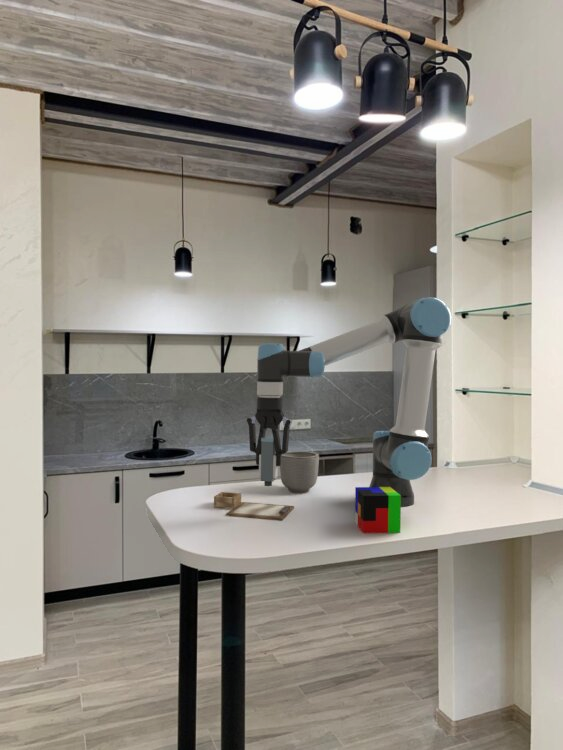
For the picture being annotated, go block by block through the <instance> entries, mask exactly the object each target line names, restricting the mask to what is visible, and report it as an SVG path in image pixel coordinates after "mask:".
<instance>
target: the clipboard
mask: <svg viewBox="0 0 563 750" xmlns="http://www.w3.org/2000/svg"><path fill="white" fill-rule="evenodd" d="M294 508H295V505H288V504H287V505H286V504H272V503H262V502H261V503H259V502H247V501H241V503H240V504H239V505H237V506H236V507H235V508H233V509H229V511H227V512H226V514H225V516H226V515H229V516H228V517H237V516H238V517H239V518H240V517H241V518H251V519H261V520H273V521H274V520H276V521H283V520H284V519H286V517H287V516H288V515H289V514H290V513H291V512H292V511H293V510H294Z"/></svg>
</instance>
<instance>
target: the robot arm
mask: <svg viewBox="0 0 563 750" xmlns="http://www.w3.org/2000/svg"><path fill="white" fill-rule="evenodd" d="M451 323H452V315H451V310H450V309H449V307H448V306H447V304H446V303H445V302H444V301H443V300H441V299H439V298H437V297H430V296H429V297H421V298H418V299H416V300H414V301H410V302H407V303H405V304H404V305H402V306H400V307H398V308H396V309H394V310H392V311H390V312H389V313H386V314H383V315H381V316H380V319H379V320H375V321H374V322H371V323H369V324H365V325H363V326H360V327H358V328H355V329H352V330H349V331H347V332H345V333H341V334H339V335H337V336H334V337H331V338H328V339H326V340H324V341H320V342H318V343H316V344H313V345H310V346H308V347H306V348H303V349H299V350H293V351H292V350H285V348H284V346H285V345H284V344H283V343H268V342H267V343H266V342H265V343H261V344H259V345H258V348H257V349H258V350H257V359H256V360H257V365H256V366H257V367H256V368H257V375H256V376H257V378H256V379H257V382H256V384H257V385H256V386H257V387H256V396H257V398H256V412H255V414H254V416H251V417H248V418H246V422H247V424H248V435H249V438H248V439H249V451H250V452H252V453H255V463H256V465H257V466H258V478H261V438H263V437H265V436H266V432H267V429H270V430H271V433H272V437H273V438H274V446H275V452H276V454H275V455H273V478H276V479H277V477H278V475H279V474H278V473H279V467H280V466H281V455H282V454H284V453H286V452H288V451H289V440H290V428H291V425H292V423H293V420H292V418H287V417H285V415H284V413H283V408H284V406H283V405H284V404H283V403H284V402H283V401H284V400H283V397H281V396H283V395H284V394H283V392H284V377H301V378H303V377H305V378H309V377H310V378H318V377H322V376H323V375H324V372H325V367H326V366H329V365H331V364H334V363H336V362H339V361H342V360H345V359H346V358H350V357H351V356H352V357H353V356H354V355H357V354H359V353H360V354H361V353H363V352H365V351H368V350H371V349H374V348H376V347H378V346H381V345H384V344H387V343H389V344H395V343H397V342H398V343H399V342H400V341H402V343H403V344H404V346H405V347H406V349H405V356H404V363H403V370H402V377H401V384H400V392H399V398H398V399H399V400H398V407H397V413H396V421H395V425H394V426H393V427H391V429H390V430H377V431H376V430H375V431H374V432H373V438H372V476H371V477H372V478H371V481H370V482H369V486H368V487H391V488H392V489H393V490H395V491H396V492H397V493H398V494H400V495H401V507H406V506H410V505H413V504H414V503H415V493H414V491H413V486H412V483H411V481H414V480H415V481H416V480H418V479H421V478H422V477H423V476H425V475H426V474H427V473H428V471H429V470H430V468H431V466H432V460H433V459H432V458H433V457H432V453H431V451H430V449H429V448H428V447H429V439H430V436H429V433H427V431H426V423H427V415H428V414H427V413H428V407H429V400H430V395H431V394H430V393H431V392H430V391H431V386H432V380H433V378H432V377H433V373H434V365H435V364H434V362H435V357H436V356H435V355H436V351H437V350H438V349H440V348H441V346H442V345H443V338H444V334H445V333H446V332H447V331H448V330H449V328H450V326H451ZM281 422H282V424H283V432H282V441H281V438H280V428H279V426H280V424H281ZM256 423H258V424H259V433H258V438H257V433H256V432H257V431H256ZM281 443H282V444H281Z"/></svg>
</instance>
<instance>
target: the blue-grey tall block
mask: <svg viewBox="0 0 563 750" xmlns="http://www.w3.org/2000/svg"><path fill="white" fill-rule="evenodd" d="M275 454H276V452H275V446H274V438H273V436H266V435H265V437H263V438H261V477H260V481H261V482H263V483H264V487H272V486H273V482H274V481H276V479H277V477H276V478H273V455H275Z"/></svg>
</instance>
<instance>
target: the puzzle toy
mask: <svg viewBox="0 0 563 750" xmlns="http://www.w3.org/2000/svg"><path fill="white" fill-rule="evenodd" d="M354 496H355V497H354V499H355V500H354V509H355V511H354V523H355V524H356V526H357V527H358V528H359V529H360V531H361V532H362V533H363V534H391V533H392V534H393V533H394V534H396V533H399V534H401V523H402V522H401V515H402V512H401V509H402V506H401V495H400V494H398V493H397V492H396V491H395V490H393V489H392V488H391V487H369V486H365V487H364V486H358V487H357V486H356V487H355V494H354Z"/></svg>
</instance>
